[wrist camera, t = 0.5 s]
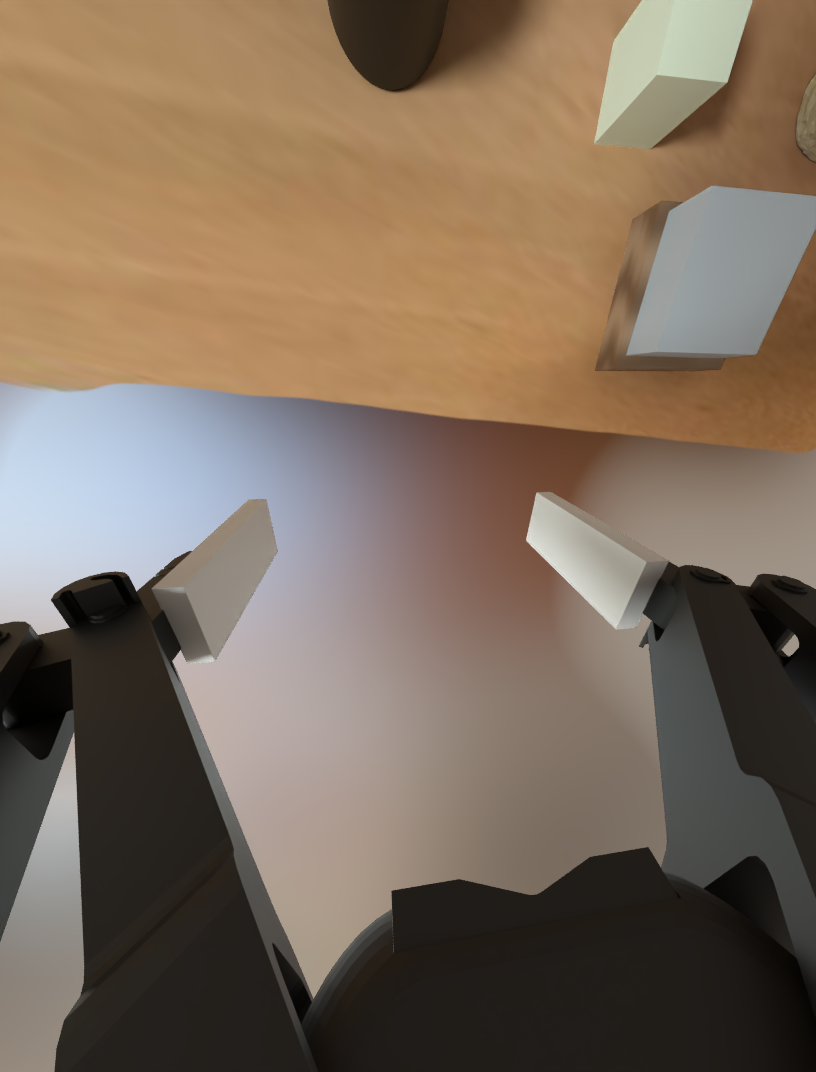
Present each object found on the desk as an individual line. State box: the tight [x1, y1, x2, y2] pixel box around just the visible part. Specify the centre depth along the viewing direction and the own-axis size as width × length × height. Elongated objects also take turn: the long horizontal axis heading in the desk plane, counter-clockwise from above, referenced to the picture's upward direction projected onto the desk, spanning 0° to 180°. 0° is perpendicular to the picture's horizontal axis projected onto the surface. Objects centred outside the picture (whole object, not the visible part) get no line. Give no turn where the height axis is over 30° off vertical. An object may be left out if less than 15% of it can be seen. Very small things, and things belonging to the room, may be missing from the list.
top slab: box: [626, 186, 816, 358], centre depth 30 cm, size 12×12×4 cm
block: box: [594, 0, 753, 149], centre depth 24 cm, size 6×6×7 cm
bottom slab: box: [595, 201, 725, 371], centre depth 33 cm, size 14×14×4 cm
